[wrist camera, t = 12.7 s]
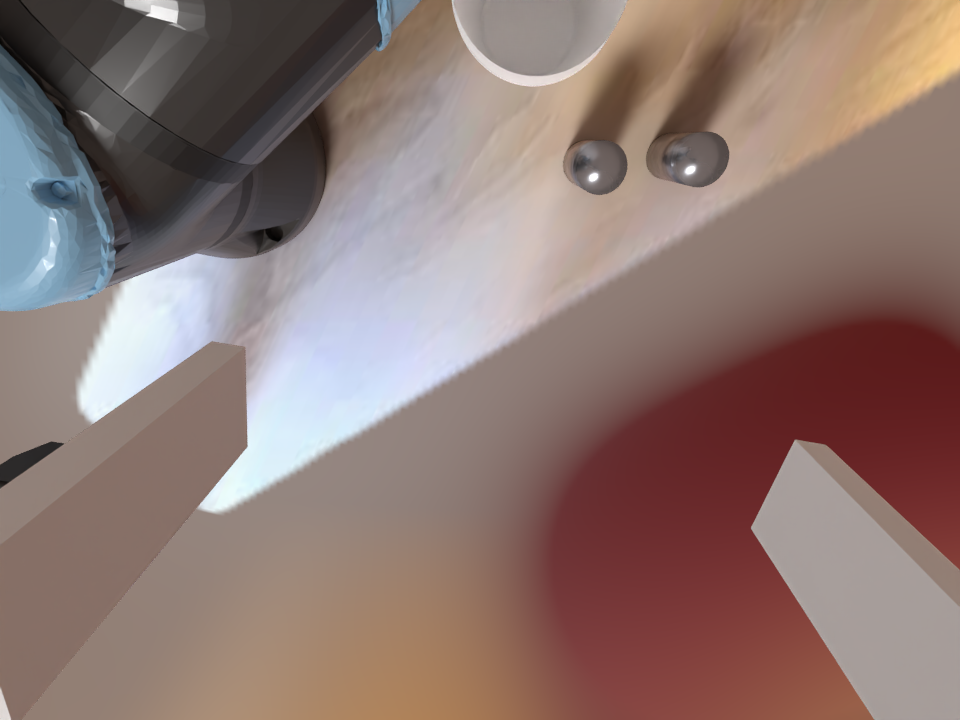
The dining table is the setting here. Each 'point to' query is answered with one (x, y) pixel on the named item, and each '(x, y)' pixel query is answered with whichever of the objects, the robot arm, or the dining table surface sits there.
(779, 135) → the dining table surface
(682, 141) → the posts
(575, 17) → the cup
